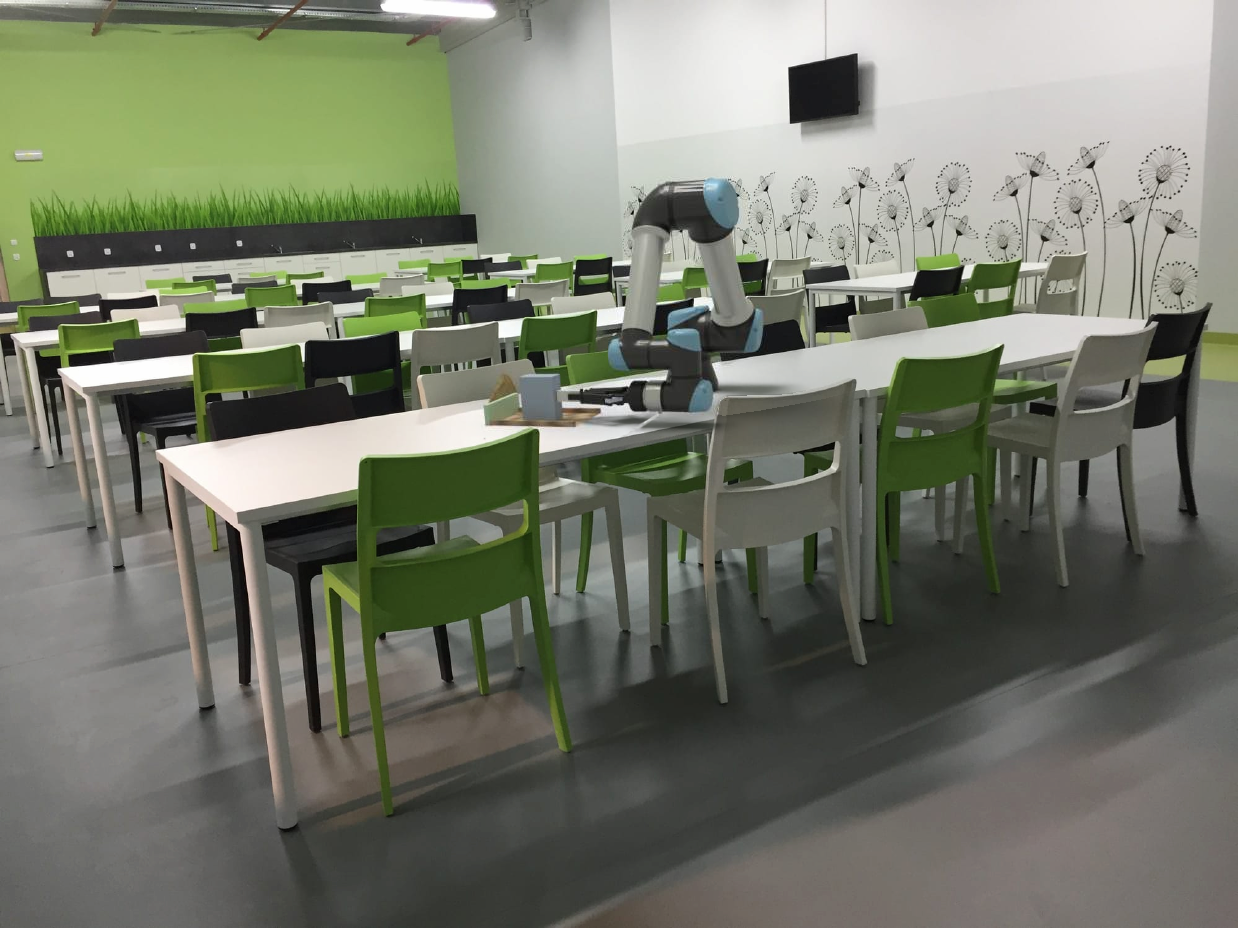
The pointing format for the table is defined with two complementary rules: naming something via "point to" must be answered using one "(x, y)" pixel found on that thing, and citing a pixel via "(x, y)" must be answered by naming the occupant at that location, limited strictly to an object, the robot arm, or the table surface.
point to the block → (540, 397)
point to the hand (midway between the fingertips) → (558, 395)
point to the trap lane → (569, 419)
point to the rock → (503, 388)
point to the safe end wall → (501, 408)
